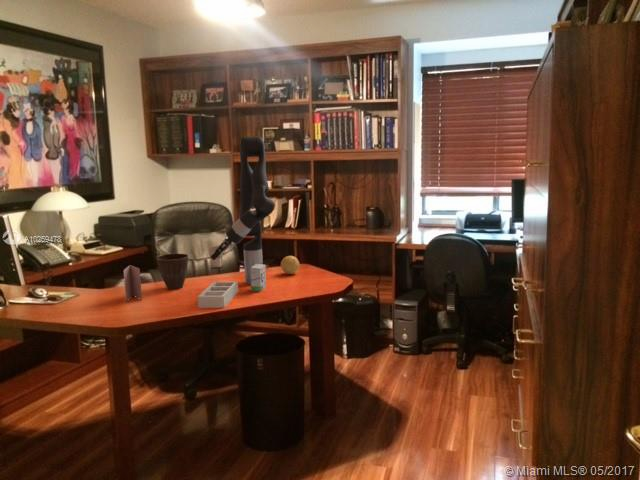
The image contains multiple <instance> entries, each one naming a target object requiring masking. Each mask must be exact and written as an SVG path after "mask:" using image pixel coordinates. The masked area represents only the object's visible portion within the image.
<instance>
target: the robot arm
mask: <svg viewBox="0 0 640 480" xmlns="http://www.w3.org/2000/svg"><path fill="white" fill-rule="evenodd" d="M248 158H258V162H257V163H256V166H255V167H254V169H252V167H251V166H250V164H249V160H248ZM239 159H240V180H239V181H240V183H239V184H240V191H239V193H240V210H239V211H240V212H239V218H238V219H237V220H236V221H235V222H234V223H233V224H232V225H231V226H230V227H229V228H228V229H227V230H226V232H225V235H226V236H227V237H226V238H224V239H223V240H222V242H221V243H220V244H218V245H219V247H218V248H217V250H216V252H215V253H214V254H213V255H212V256H211V258H212V259H213V260H215V259H216V258H217V257H218V256H219V255H220V254H221V253H222V254H223V253H224V252H225V251H227V250H229V248H230V247H232V246H233V245H234V244H236V245H237V244H240V243H241V242H242V240H244V238H245V237H252V236H253V238H252V239H251V240H249V241H247V242H245V243H243V262H244V281H245V284H246V285H251V267H252V266H254V265H255V264H263V263H264V262H263V259H264V258H263V245H262V243H263V241H262V240H263V239H262V238H263V237H262V235H263V233H262V231H263V229H262V228H263V227H262V225H263V224H262V221H263V220H264V219H265V218H267V217H269V215H271V214H272V213H273V211H274V209H275V207H276V202H275V201H274V200H272V199H271V198H270V197H268V196H266V195H267V194H268V193H269V192H270V191H269V189H270V188H269V181H268V177H267V176H268V175H267V166H266V165H267V163H266V162H267V161H266V146H265V141H264V138H263V137H261V136H243V137H241V138H240V140H239ZM252 208H254V209H252ZM219 249H220V250H221V252H220V251H219Z"/></svg>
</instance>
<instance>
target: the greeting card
mask: <svg viewBox="0 0 640 480" xmlns="http://www.w3.org/2000/svg"><path fill="white" fill-rule="evenodd" d="M140 270H141V269H140V268H139V267H137V266H134V265H131V264H129V265H128V266H126V267H125V268H124V269H123V279H124V282H123V283H124V294H125V302H126V301H127V300H128V299H129V298H130V297H131V296H132V295H134V296H136V297H137V298H136V297H135V298H136V299H138V298H140V299H142V300H143V292H142V285H141V284H142V282H141V271H140ZM134 296H132V297H134ZM132 297H131V298H132ZM131 298H130V299H131ZM130 299H129V300H130ZM140 299H139V300H140ZM129 300H128V301H129ZM128 301H127V302H128Z"/></svg>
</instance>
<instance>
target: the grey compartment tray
mask: <svg viewBox="0 0 640 480" xmlns="http://www.w3.org/2000/svg"><path fill="white" fill-rule="evenodd" d="M216 285H231V286H216ZM211 290H227V291H211ZM238 293H239V285H238V281H213V282H212V283H211V284H210V285H208V287H207V288H205V289H204V290H203V291H202V292H201V293H200V294H199V295H198V296H197V308H199V309H202V308H203V309H209V308H212V309H215V308H217V309H224V308H226V306H227V305H228V304H229V303H230V302H231V301H232V299H233V298H234V297H235V296H236V295H237V294H238Z"/></svg>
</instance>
